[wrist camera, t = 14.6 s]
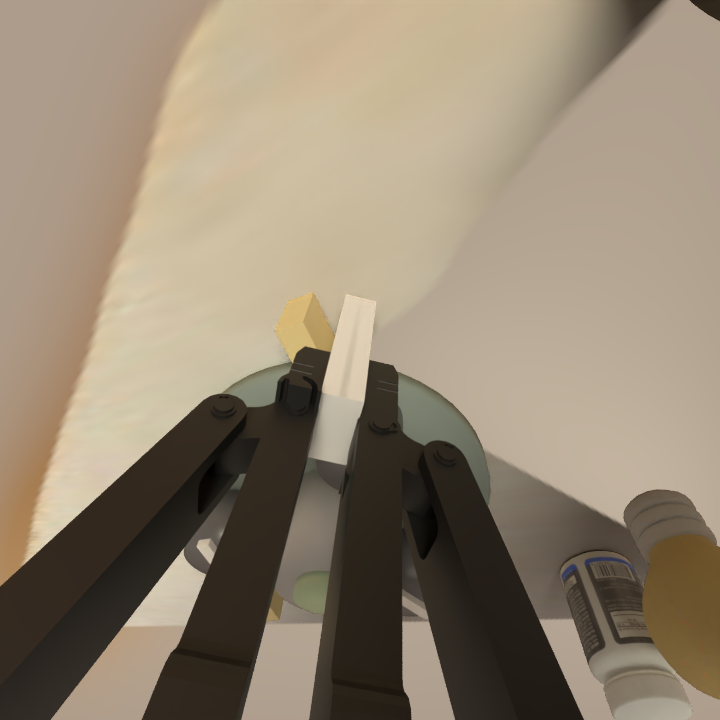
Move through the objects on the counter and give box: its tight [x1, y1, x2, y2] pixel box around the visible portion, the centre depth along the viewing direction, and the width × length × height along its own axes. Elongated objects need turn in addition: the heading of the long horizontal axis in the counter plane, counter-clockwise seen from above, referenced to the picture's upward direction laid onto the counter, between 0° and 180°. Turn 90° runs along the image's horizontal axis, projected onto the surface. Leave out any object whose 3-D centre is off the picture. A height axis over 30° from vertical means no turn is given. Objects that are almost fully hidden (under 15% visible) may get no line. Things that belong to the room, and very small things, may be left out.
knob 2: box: [275, 292, 403, 490], centre depth 20 cm, size 10×4×4 cm, turn 21°
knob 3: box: [402, 530, 428, 620], centre depth 28 cm, size 10×4×4 cm, turn 45°
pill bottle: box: [560, 551, 692, 720], centre depth 27 cm, size 5×5×8 cm
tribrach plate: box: [222, 362, 490, 614], centre depth 25 cm, size 18×18×7 cm
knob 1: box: [184, 490, 284, 621], centre depth 28 cm, size 10×4×4 cm, turn 16°
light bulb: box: [624, 490, 720, 699], centre depth 23 cm, size 6×6×10 cm
